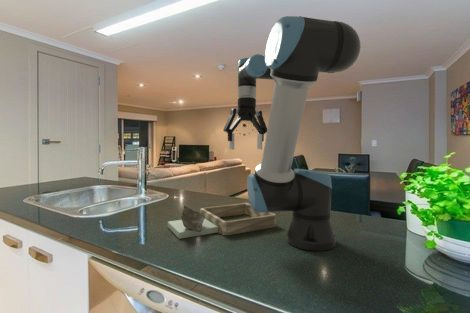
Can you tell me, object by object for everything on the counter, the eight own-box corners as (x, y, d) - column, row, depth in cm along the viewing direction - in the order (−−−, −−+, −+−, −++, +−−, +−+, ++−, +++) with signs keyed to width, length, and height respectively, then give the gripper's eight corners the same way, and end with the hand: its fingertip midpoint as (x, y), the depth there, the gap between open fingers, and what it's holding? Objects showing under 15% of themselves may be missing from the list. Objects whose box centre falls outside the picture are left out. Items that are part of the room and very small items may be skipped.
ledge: (217, 232, 97) (217, 226, 96) (179, 238, 90) (179, 232, 90) (202, 221, 109) (202, 216, 109) (167, 226, 102) (167, 221, 102)
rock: (202, 230, 88) (182, 207, 90) (189, 241, 90) (169, 218, 91) (212, 220, 99) (194, 199, 101) (201, 230, 101) (183, 210, 102)
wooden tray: (276, 226, 104) (277, 214, 104) (223, 235, 93) (224, 222, 93) (246, 212, 123) (246, 202, 123) (199, 219, 113) (199, 208, 112)
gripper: (266, 101, 122) (265, 149, 124) (215, 96, 110) (215, 149, 112) (276, 99, 116) (275, 149, 117) (223, 93, 104) (223, 149, 105)
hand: (246, 149), depth 114 cm, fingers open, 13 cm apart
